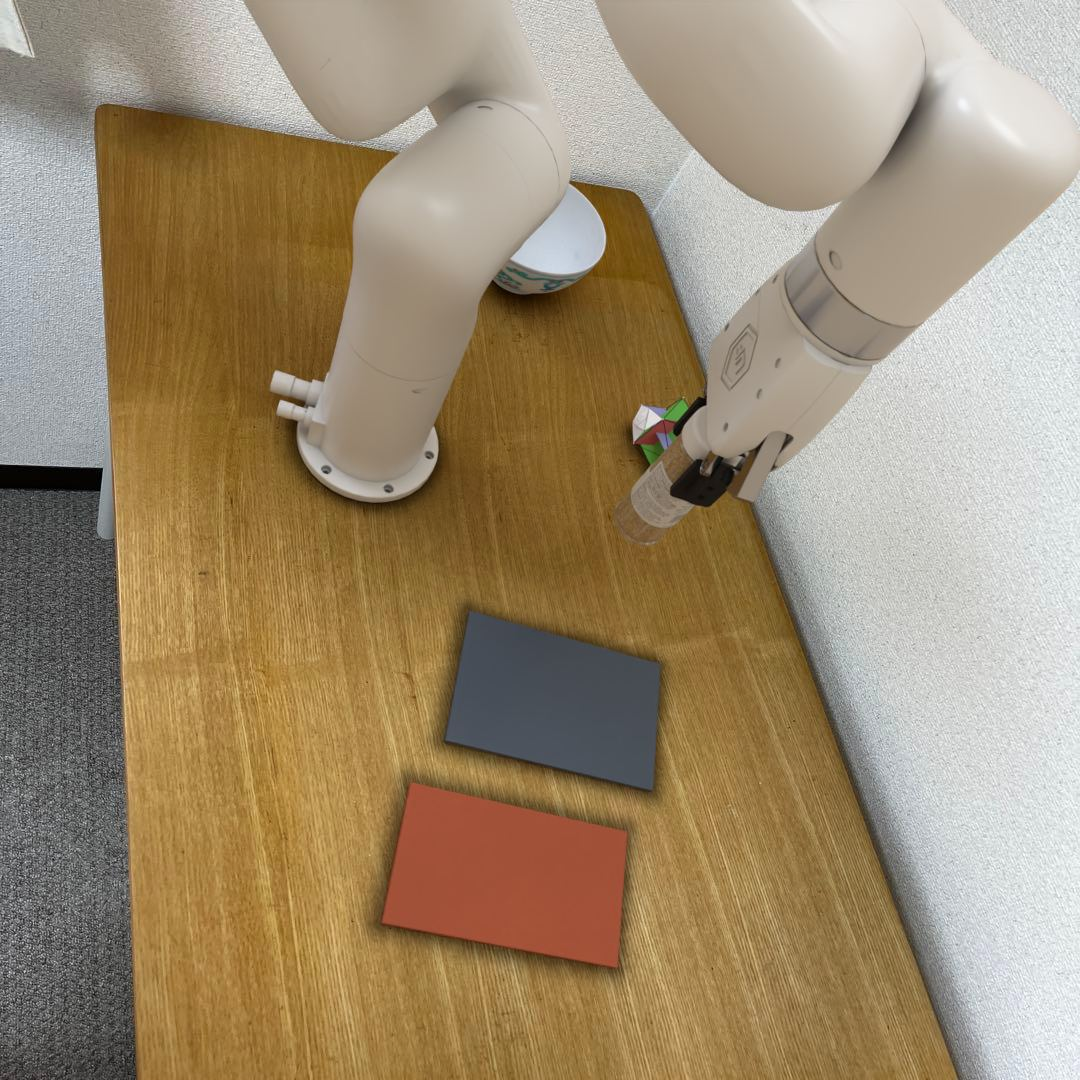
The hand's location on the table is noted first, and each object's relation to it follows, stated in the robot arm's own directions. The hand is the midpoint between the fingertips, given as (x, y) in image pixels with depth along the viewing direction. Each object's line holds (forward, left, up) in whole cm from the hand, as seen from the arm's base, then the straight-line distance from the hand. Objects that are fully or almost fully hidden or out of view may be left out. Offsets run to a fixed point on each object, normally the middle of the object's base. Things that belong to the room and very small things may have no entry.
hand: (690, 466), depth 64 cm
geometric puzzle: (+6, +19, -22) cm, 29 cm away
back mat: (-1, -11, -21) cm, 24 cm away
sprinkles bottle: (0, 0, -9) cm, 9 cm away
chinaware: (-12, +37, -22) cm, 44 cm away
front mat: (-3, -25, -21) cm, 33 cm away
